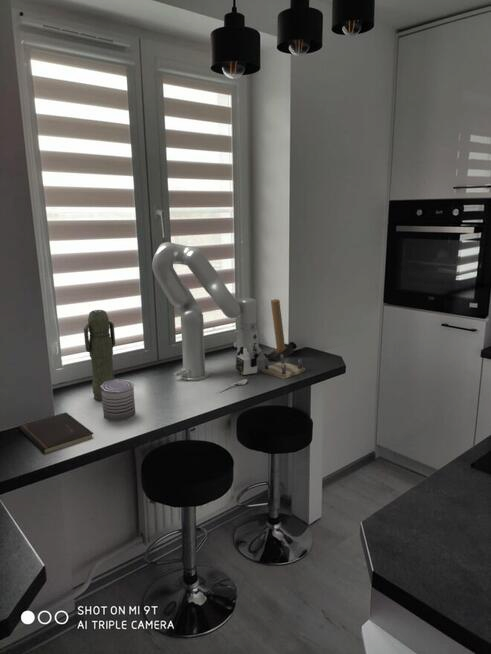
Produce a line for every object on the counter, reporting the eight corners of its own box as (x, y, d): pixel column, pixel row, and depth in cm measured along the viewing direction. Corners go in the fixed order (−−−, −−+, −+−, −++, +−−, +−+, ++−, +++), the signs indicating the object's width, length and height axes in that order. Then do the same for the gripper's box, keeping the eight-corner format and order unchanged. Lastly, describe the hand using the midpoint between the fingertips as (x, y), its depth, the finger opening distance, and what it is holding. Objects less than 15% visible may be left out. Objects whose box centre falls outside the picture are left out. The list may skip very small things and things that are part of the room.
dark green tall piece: (124, 395, 197) (117, 309, 189) (99, 404, 188) (91, 315, 180) (111, 390, 202) (103, 307, 194) (86, 399, 193) (77, 312, 185)
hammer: (273, 366, 236) (265, 308, 225) (265, 364, 239) (257, 307, 228) (297, 350, 250) (291, 294, 239) (289, 348, 253) (282, 293, 242)
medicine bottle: (235, 370, 222) (236, 345, 219) (249, 368, 226) (250, 343, 223) (243, 375, 216) (243, 348, 213) (257, 372, 219) (257, 347, 217)
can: (126, 406, 186) (124, 376, 183) (141, 415, 177) (139, 384, 174) (98, 415, 178) (95, 384, 175) (112, 424, 170) (109, 392, 167)
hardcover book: (66, 418, 178) (66, 412, 177) (94, 439, 161) (93, 432, 160) (20, 431, 167) (19, 425, 167) (44, 455, 150) (43, 448, 150)
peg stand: (284, 378, 212) (284, 366, 211) (261, 371, 222) (261, 360, 221) (305, 371, 222) (305, 359, 220) (282, 364, 232) (282, 353, 230)
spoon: (250, 383, 209) (250, 380, 208) (213, 397, 194) (213, 393, 194) (243, 381, 211) (243, 377, 211) (207, 394, 197) (206, 390, 197)
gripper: (267, 328, 212) (266, 366, 216) (240, 321, 225) (239, 358, 229) (255, 331, 207) (254, 370, 211) (227, 324, 220) (227, 361, 224)
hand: (246, 364), depth 220 cm, fingers closed on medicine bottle, 8 cm apart
